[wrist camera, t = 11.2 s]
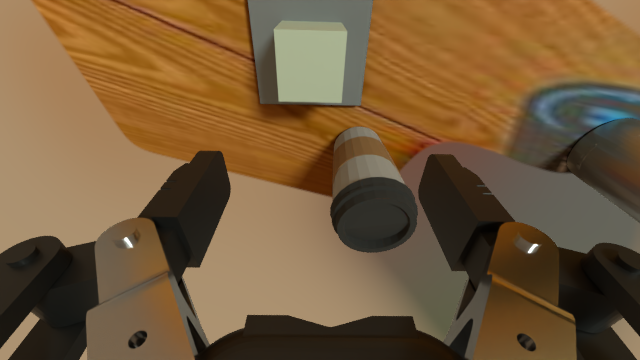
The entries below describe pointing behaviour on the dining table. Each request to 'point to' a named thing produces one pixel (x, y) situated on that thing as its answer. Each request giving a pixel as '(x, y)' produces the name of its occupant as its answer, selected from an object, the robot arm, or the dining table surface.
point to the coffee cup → (369, 194)
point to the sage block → (310, 61)
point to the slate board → (314, 6)
